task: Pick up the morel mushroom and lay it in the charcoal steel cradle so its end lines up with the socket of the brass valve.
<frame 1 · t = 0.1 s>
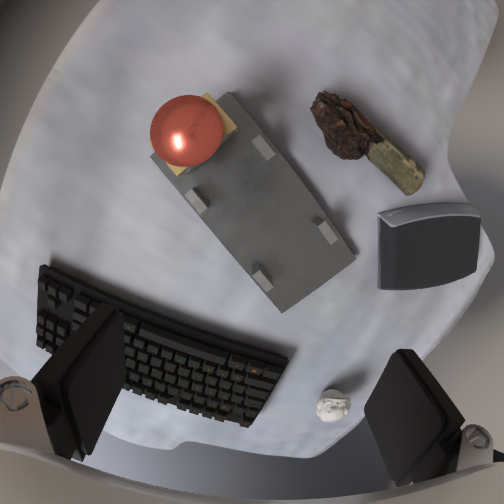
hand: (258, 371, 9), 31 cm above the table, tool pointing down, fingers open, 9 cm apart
keyboard: (149, 346, 46), on the table
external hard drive: (427, 243, 41), on the table
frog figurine: (328, 391, 49), on the table
morel mushroom: (359, 146, 37), on the table
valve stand: (262, 212, 39), on the table
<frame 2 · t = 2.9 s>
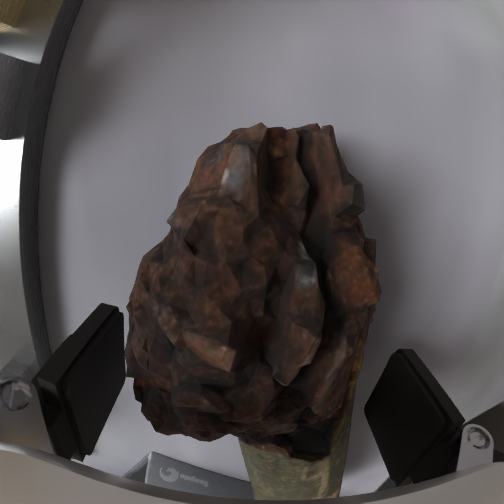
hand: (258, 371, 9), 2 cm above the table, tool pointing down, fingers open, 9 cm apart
morel mushroom: (267, 365, 12), on the table
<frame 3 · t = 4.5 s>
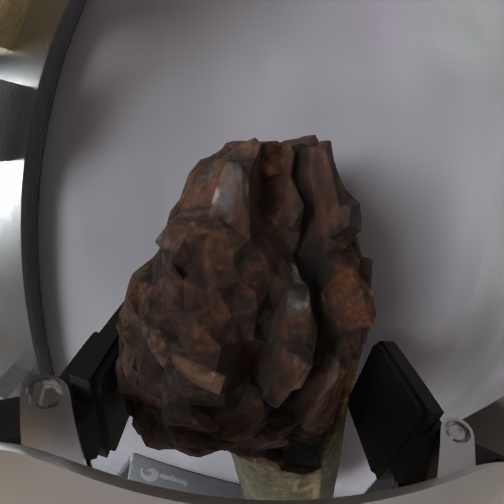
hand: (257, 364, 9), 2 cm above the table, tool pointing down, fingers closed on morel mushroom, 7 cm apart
morel mushroom: (259, 376, 12), on the table, touching gripper
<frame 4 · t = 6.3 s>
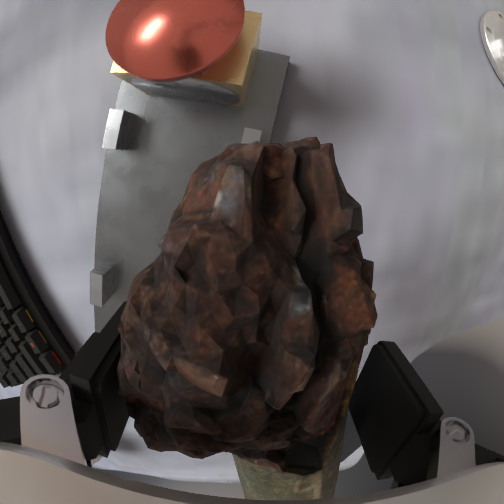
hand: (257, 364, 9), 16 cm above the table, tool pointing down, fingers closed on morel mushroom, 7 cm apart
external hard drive: (304, 408, 32), on the table
morel mushroom: (260, 377, 12), point 15 cm above the table, touching gripper
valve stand: (172, 217, 24), on the table
when the fingers open (4 cm above the table, at t = 9.1 s): morel mushroom stays where it is, resting on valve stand.
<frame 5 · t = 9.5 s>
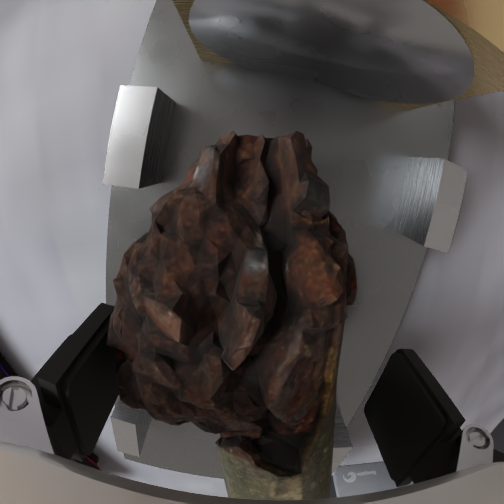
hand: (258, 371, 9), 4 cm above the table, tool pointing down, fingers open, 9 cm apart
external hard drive: (384, 486, 20), on the table
morel mushroom: (263, 380, 12), point 2 cm above the table, touching gripper, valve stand
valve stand: (255, 312, 13), on the table
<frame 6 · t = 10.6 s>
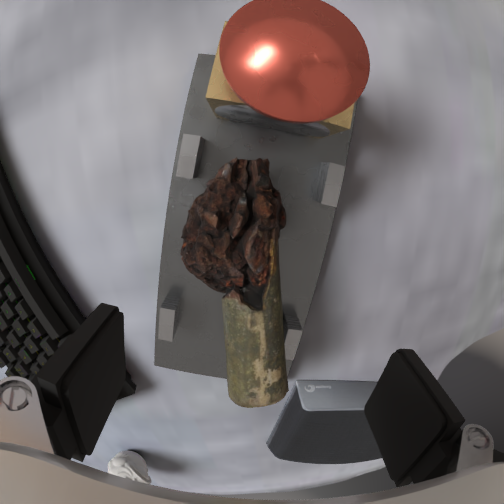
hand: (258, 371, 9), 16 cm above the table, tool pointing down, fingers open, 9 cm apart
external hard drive: (350, 415, 32), on the table
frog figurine: (135, 452, 33), on the table
morel mushroom: (247, 279, 23), point 2 cm above the table, touching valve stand
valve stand: (243, 246, 25), on the table
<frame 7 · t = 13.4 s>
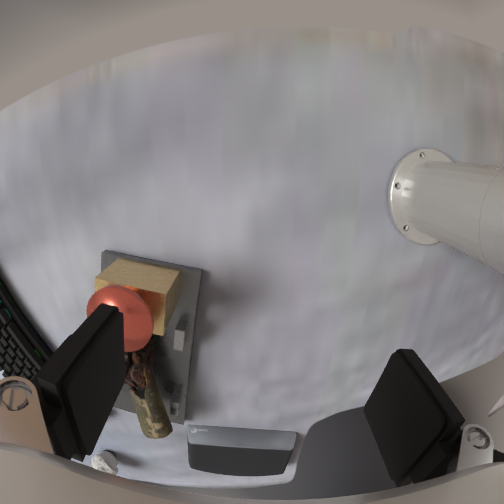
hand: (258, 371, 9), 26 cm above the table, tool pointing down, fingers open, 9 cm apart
keyboard: (14, 333, 40), on the table
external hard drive: (239, 445, 47), on the table
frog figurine: (109, 452, 48), on the table
morel mushroom: (147, 375, 38), point 2 cm above the table, touching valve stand
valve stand: (147, 355, 40), on the table
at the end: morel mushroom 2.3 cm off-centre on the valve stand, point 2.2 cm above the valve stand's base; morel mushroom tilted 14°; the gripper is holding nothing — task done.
